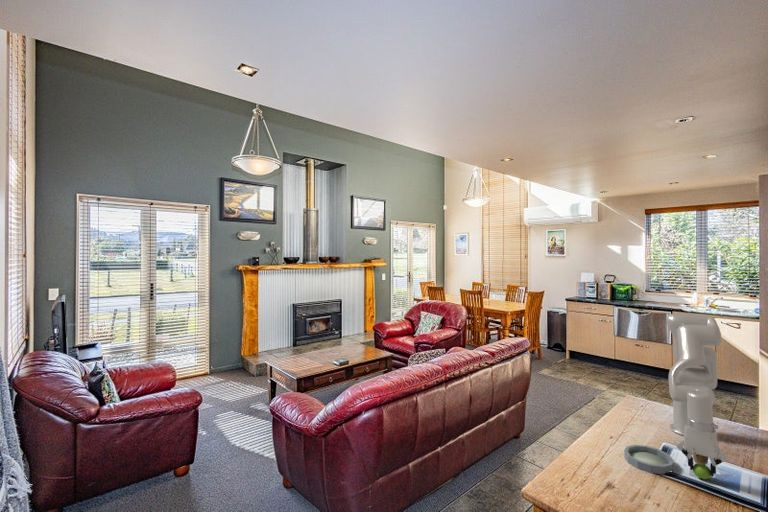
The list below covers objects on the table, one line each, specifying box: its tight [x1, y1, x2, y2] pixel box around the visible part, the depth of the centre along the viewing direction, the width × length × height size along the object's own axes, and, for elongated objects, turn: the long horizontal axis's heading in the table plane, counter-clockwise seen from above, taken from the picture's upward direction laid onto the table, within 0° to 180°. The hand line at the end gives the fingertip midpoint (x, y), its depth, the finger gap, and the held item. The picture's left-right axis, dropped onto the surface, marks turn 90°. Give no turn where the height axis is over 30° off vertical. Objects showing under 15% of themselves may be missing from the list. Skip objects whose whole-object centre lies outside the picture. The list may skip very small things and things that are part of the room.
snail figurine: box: [692, 448, 712, 480], centre depth 144 cm, size 5×6×12 cm
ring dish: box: [623, 444, 675, 475], centre depth 156 cm, size 16×16×3 cm
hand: (701, 470), depth 144 cm, fingers closed on snail figurine, 5 cm apart
